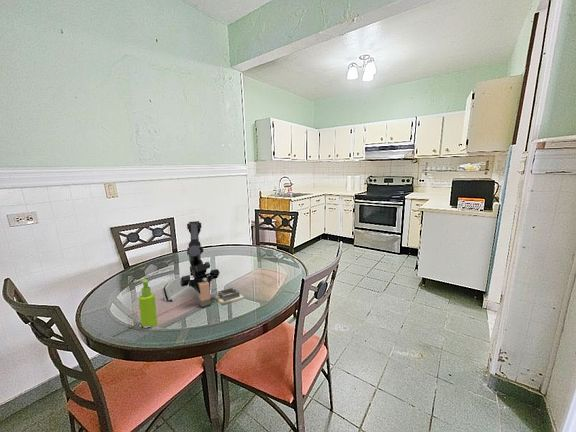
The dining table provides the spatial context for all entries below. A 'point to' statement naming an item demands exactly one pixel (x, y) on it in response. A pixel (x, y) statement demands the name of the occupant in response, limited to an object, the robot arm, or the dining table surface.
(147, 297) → the soap dispenser
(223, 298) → the square socket base
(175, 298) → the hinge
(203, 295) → the brown rectangular block
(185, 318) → the dining table surface
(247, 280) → the dining table surface
